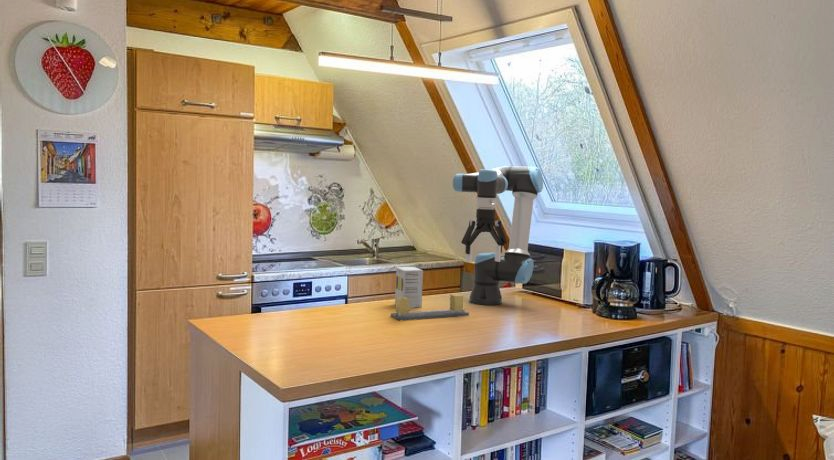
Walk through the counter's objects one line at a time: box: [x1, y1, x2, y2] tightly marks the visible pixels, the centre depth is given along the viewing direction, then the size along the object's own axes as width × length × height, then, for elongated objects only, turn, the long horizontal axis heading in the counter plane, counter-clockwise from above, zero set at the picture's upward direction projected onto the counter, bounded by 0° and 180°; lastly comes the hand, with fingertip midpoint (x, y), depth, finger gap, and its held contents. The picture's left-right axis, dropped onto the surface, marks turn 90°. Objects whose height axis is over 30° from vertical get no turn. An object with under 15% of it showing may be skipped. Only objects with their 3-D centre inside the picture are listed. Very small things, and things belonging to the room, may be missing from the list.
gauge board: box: [390, 293, 470, 322], centre depth 262 cm, size 8×32×8 cm, turn 116°
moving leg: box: [395, 297, 410, 314], centre depth 256 cm, size 7×4×7 cm, turn 26°
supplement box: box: [394, 266, 424, 309], centre depth 279 cm, size 10×9×17 cm
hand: (483, 261), depth 252 cm, fingers open, 13 cm apart
